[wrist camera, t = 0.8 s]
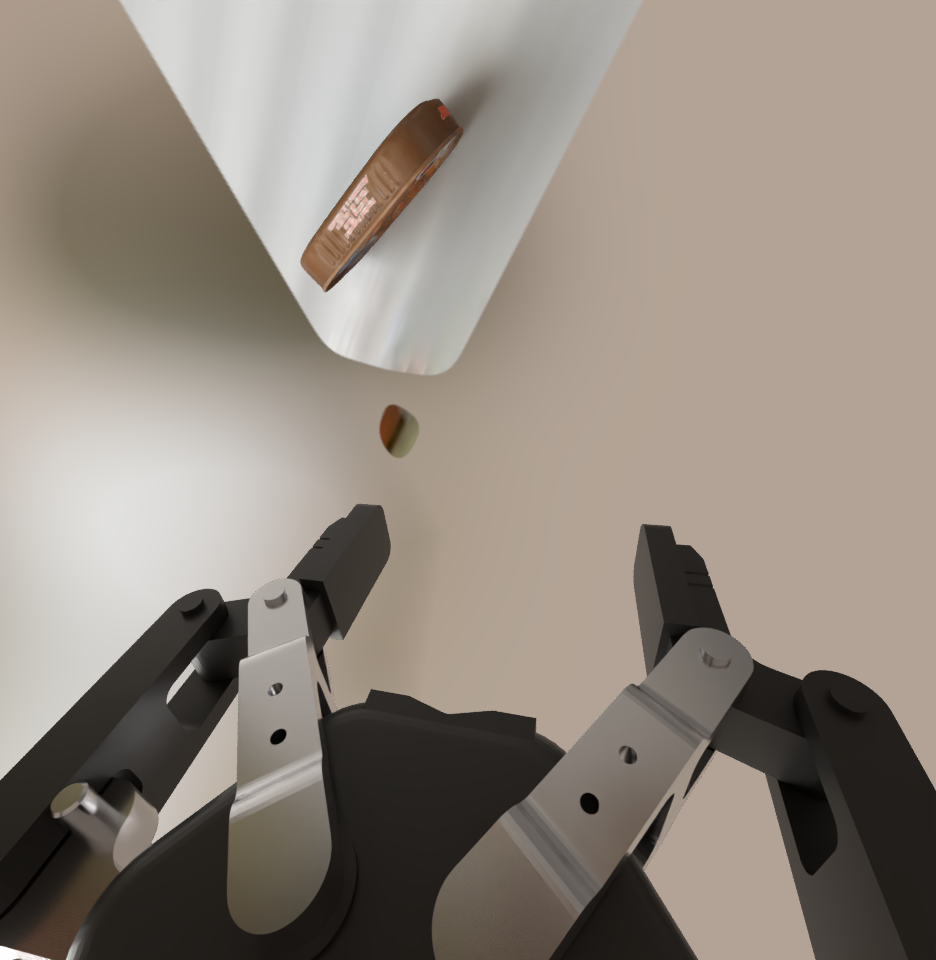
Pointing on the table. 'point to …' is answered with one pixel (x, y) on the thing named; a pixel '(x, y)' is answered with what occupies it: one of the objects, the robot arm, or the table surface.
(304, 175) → the table surface
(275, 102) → the table surface
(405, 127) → the tin
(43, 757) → the robot arm
